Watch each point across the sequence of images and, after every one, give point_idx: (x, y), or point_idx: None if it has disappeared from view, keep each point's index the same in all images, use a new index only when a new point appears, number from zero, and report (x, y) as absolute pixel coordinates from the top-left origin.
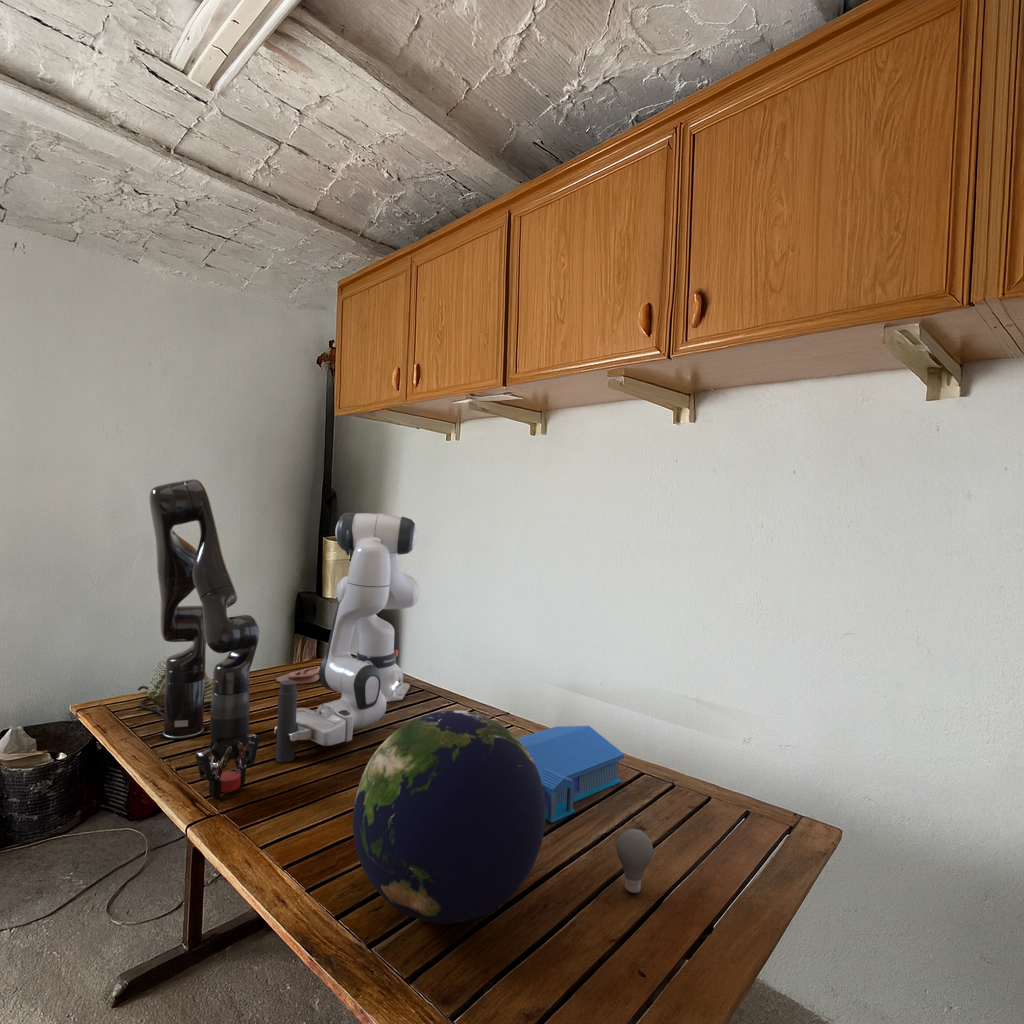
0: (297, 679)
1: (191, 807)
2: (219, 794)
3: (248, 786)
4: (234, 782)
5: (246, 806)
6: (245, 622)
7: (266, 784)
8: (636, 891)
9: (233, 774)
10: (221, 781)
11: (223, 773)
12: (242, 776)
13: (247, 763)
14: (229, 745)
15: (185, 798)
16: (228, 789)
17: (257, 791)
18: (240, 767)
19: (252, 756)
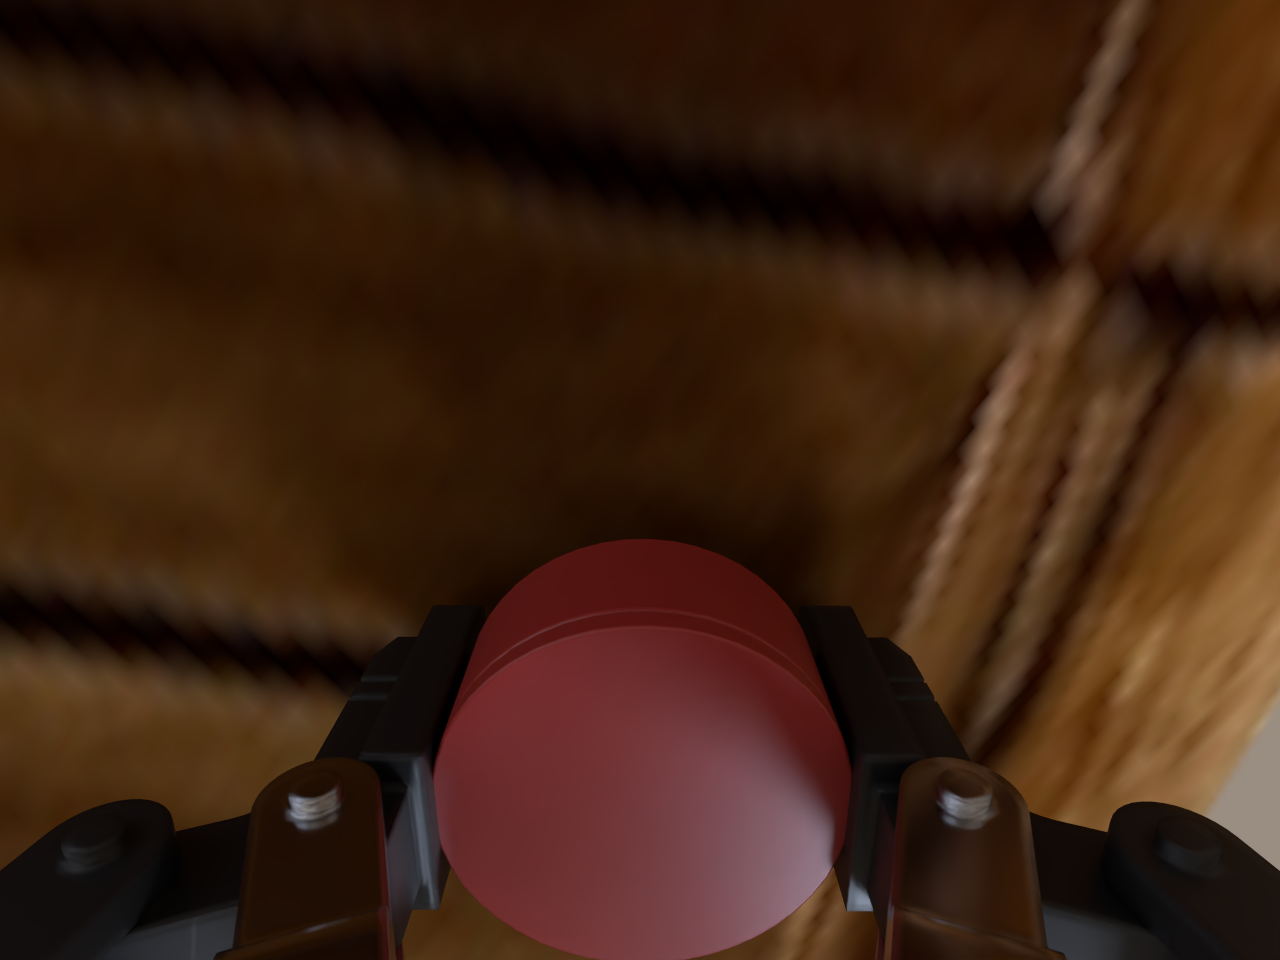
0: None
1: (1096, 673)
2: (824, 616)
3: (344, 608)
4: (663, 595)
5: (726, 121)
6: None
7: (136, 474)
8: None
9: (544, 793)
10: (839, 734)
11: (626, 924)
12: (416, 693)
13: (212, 863)
14: None
15: None
16: (743, 579)
17: (340, 398)
18: (389, 846)
19: (9, 953)
